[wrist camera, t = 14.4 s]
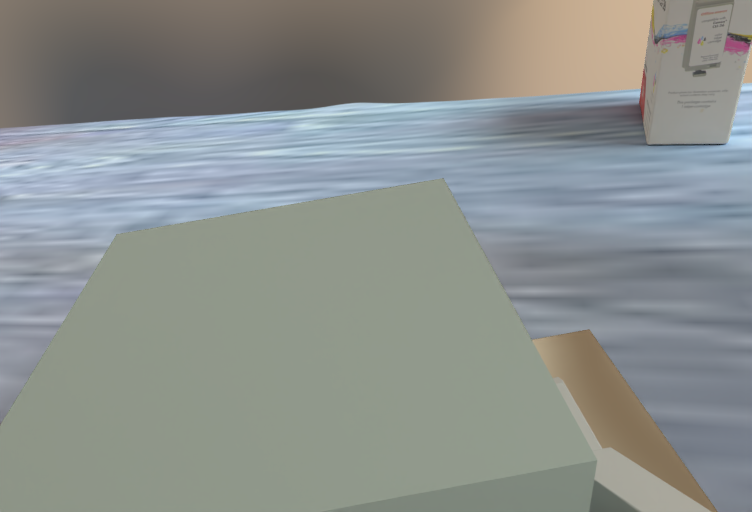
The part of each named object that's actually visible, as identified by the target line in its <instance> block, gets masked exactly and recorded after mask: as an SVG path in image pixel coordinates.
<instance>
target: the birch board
mask: <svg viewBox="0 0 752 512" xmlns="http://www.w3.org/2000/svg"><path fill="white" fill-rule="evenodd" d="M532 341H533V343H534V345H535V347H536V349H537V351H538V352H539V354H540V356H541V358H542V360H543V361H544V363H545V365H546V367H547V369H548V371H549V372H550V374H551V376H552V378H555V377H559V378H560V379H562V380H563V381H564V383H565V385H566V387H567V388H568V390H569V392H570V393H571V395H572V397H573V399H574V400H575V402H576V404H577V406H578V407H579V409H580V411H581V412H582V414H583V416H584V418H585V419H586V421H587V423H588V425H589V426H590V428H591V430H592V431H593V433H594V435H595V437H596V438H597V440H598V442H599V444H600V445H601V447H602V448H609V447H611V448H613V449H614V450H616V451H617V452H619V453H620V454H622V455H623V456H625V457H627V458H628V459H630V460H631V461H633V462H634V463H636V464H638V465H639V466H641V467H642V468H644V469H645V470H647V471H649V472H650V473H652V474H653V475H655V476H656V477H658V478H660V479H661V480H663V481H664V482H666V483H667V484H669V485H670V486H672V487H674V488H675V489H677V490H678V491H680V492H681V493H683V494H685V495H686V496H688V497H689V498H691V499H692V500H694V501H696V502H697V503H699V504H700V505H702V506H703V507H705V508H707V509H708V510H710V511H711V512H718V511H717V510H716V509H715V507H714V506H713V504H712V503H711V502H710V500H709V499H708V497H707V496H706V494H705V493H704V492H703V490H702V489H701V487H700V486H699V485H698V483H697V482H696V480H695V479H694V477H693V476H692V475H691V473H690V472H689V470H688V469H687V467H686V466H685V465H684V463H683V462H682V460H681V459H680V458H679V456H678V455H677V453H676V452H675V450H674V449H673V448H672V446H671V445H670V443H669V442H668V441H667V439H666V438H665V436H664V435H663V433H662V432H661V431H660V429H659V428H658V426H657V425H656V424H655V422H654V421H653V419H652V418H651V416H650V415H649V414H648V412H647V411H646V409H645V408H644V407H643V405H642V404H641V402H640V401H639V399H638V398H637V397H636V395H635V394H634V392H633V391H632V390H631V388H630V387H629V385H628V384H627V382H626V381H625V380H624V378H623V377H622V375H621V374H620V372H619V371H618V370H617V368H616V367H615V365H614V364H613V363H612V361H611V360H610V358H609V357H608V355H607V354H606V353H605V351H604V350H603V348H602V347H601V346H600V344H599V343H598V341H597V340H596V338H595V337H594V336H593V334H592V333H591V331H590V330H583V331H578V332H572V333H567V334H561V335H556V336H550V337H545V338H539V339H534V340H532Z"/></svg>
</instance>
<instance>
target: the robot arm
mask: <svg viewBox="0 0 752 512" xmlns="http://www.w3.org/2000/svg"><path fill="white" fill-rule="evenodd" d="M553 380H554V382H555V383H556V385H557V387H558V389H559V391H560V393H561V394H562V396H563V398H564V400H565V402H566V404H567V405H568V407H569V409H570V411H571V413H572V415H573V416H574V418H575V420H576V422H577V424H578V426H579V427H580V429H581V431H582V433H583V435H584V437H585V438H586V440H587V442H588V444H589V446H590V448H591V449H592V451H593V453H594V455H595V457H596V458H597V466H596V472H595V478H594V484H593V491H592V497H591V503H590V509H589V512H711V511H710V510H708V509H707V508H705V507H703V506H702V505H700V504H699V503H697V502H696V501H694V500H692V499H691V498H689V497H688V496H686V495H685V494H683V493H681V492H680V491H678V490H677V489H675V488H674V487H672V486H670V485H669V484H667V483H666V482H664V481H663V480H661V479H660V478H658V477H656V476H655V475H653V474H652V473H650V472H649V471H647V470H645V469H644V468H642V467H641V466H639V465H638V464H636V463H634V462H633V461H631V460H630V459H628V458H627V457H625V456H623V455H622V454H620V453H619V452H617V451H616V450H614V449H613V448H611V447H609V448H602V447H601V445H600V444H599V442H598V440H597V438H596V437H595V435H594V433H593V431H592V430H591V428H590V426H589V425H588V423H587V421H586V419H585V418H584V416H583V414H582V412H581V411H580V409H579V407H578V406H577V404H576V402H575V400H574V399H573V397H572V395H571V393H570V392H569V390H568V388H567V387H566V385H565V383H564V381H563V380H562V379H560V378H559V377H555V378H553Z"/></svg>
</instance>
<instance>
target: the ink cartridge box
mask: <svg viewBox="0 0 752 512" xmlns="http://www.w3.org/2000/svg"><path fill="white" fill-rule="evenodd" d="M751 46H752V0H654V1H653V9H652V15H651V22H650V30H649V37H648V44H647V50H646V57H645V64H644V71H643V79H642V86H641V94H640V101H639V104H640V107H641V113H642V119H643V125H644V130H645V136H646V142H647V144H648V145H653V144H725V143H728V141H729V137H730V134H731V130H732V125H733V121H734V117H735V113H736V109H737V104H738V100H739V96H740V92H741V87H742V83H743V79H744V74H745V70H746V66H747V62H748V58H749V54H750V50H751Z"/></svg>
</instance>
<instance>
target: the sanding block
mask: <svg viewBox="0 0 752 512" xmlns="http://www.w3.org/2000/svg"><path fill="white" fill-rule="evenodd" d="M596 466H597V458H596V457H595V455H594V453H593V451H592V449H591V448H590V446H589V444H588V442H587V440H586V438H585V437H584V435H583V433H582V431H581V429H580V427H579V426H578V424H577V422H576V420H575V418H574V416H573V415H572V413H571V411H570V409H569V407H568V405H567V404H566V402H565V400H564V398H563V396H562V394H561V393H560V391H559V389H558V387H557V385H556V383H555V382H554V380H553V378H552V376H551V374H550V372H549V371H548V369H547V367H546V365H545V363H544V361H543V360H542V358H541V356H540V354H539V352H538V351H537V349H536V347H535V345H534V343H533V341H532V340H531V338H530V336H529V334H528V332H527V330H526V329H525V327H524V325H523V323H522V321H521V319H520V318H519V316H518V314H517V312H516V310H515V308H514V307H513V305H512V303H511V301H510V299H509V297H508V296H507V294H506V292H505V290H504V288H503V286H502V285H501V283H500V281H499V279H498V277H497V275H496V274H495V272H494V270H493V268H492V266H491V264H490V263H489V261H488V259H487V257H486V255H485V254H484V252H483V250H482V248H481V246H480V244H479V243H478V241H477V239H476V237H475V235H474V233H473V232H472V230H471V228H470V226H469V224H468V222H467V221H466V219H465V217H464V215H463V213H462V211H461V210H460V208H459V206H458V204H457V202H456V200H455V199H454V197H453V195H452V193H451V191H450V189H449V188H448V186H447V184H446V182H445V180H444V178H442V179H436V180H430V181H425V182H419V183H413V184H407V185H401V186H395V187H390V188H384V189H378V190H372V191H366V192H361V193H355V194H349V195H343V196H337V197H331V198H326V199H320V200H314V201H308V202H302V203H296V204H291V205H285V206H279V207H273V208H267V209H262V210H256V211H250V212H244V213H238V214H232V215H227V216H221V217H215V218H209V219H203V220H197V221H192V222H186V223H180V224H174V225H168V226H162V227H157V228H151V229H145V230H139V231H133V232H128V233H122V234H117V235H116V237H115V238H114V240H113V241H112V243H111V245H110V246H109V248H108V250H107V251H106V253H105V255H104V256H103V258H102V259H101V261H100V263H99V264H98V266H97V268H96V269H95V271H94V273H93V274H92V276H91V277H90V279H89V281H88V282H87V284H86V286H85V287H84V289H83V291H82V292H81V294H80V295H79V297H78V299H77V300H76V302H75V304H74V305H73V307H72V309H71V310H70V312H69V313H68V315H67V317H66V318H65V320H64V322H63V323H62V325H61V327H60V328H59V330H58V331H57V333H56V335H55V336H54V338H53V340H52V341H51V343H50V345H49V346H48V348H47V349H46V351H45V353H44V354H43V356H42V358H41V359H40V361H39V363H38V364H37V366H36V367H35V369H34V371H33V372H32V374H31V376H30V377H29V379H28V381H27V382H26V384H25V385H24V387H23V389H22V390H21V392H20V394H19V395H18V397H17V399H16V400H15V402H14V403H13V405H12V407H11V408H10V410H9V412H8V413H7V415H6V417H5V418H4V420H3V421H2V423H1V425H0V512H589V509H590V503H591V497H592V491H593V484H594V478H595V472H596Z"/></svg>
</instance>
